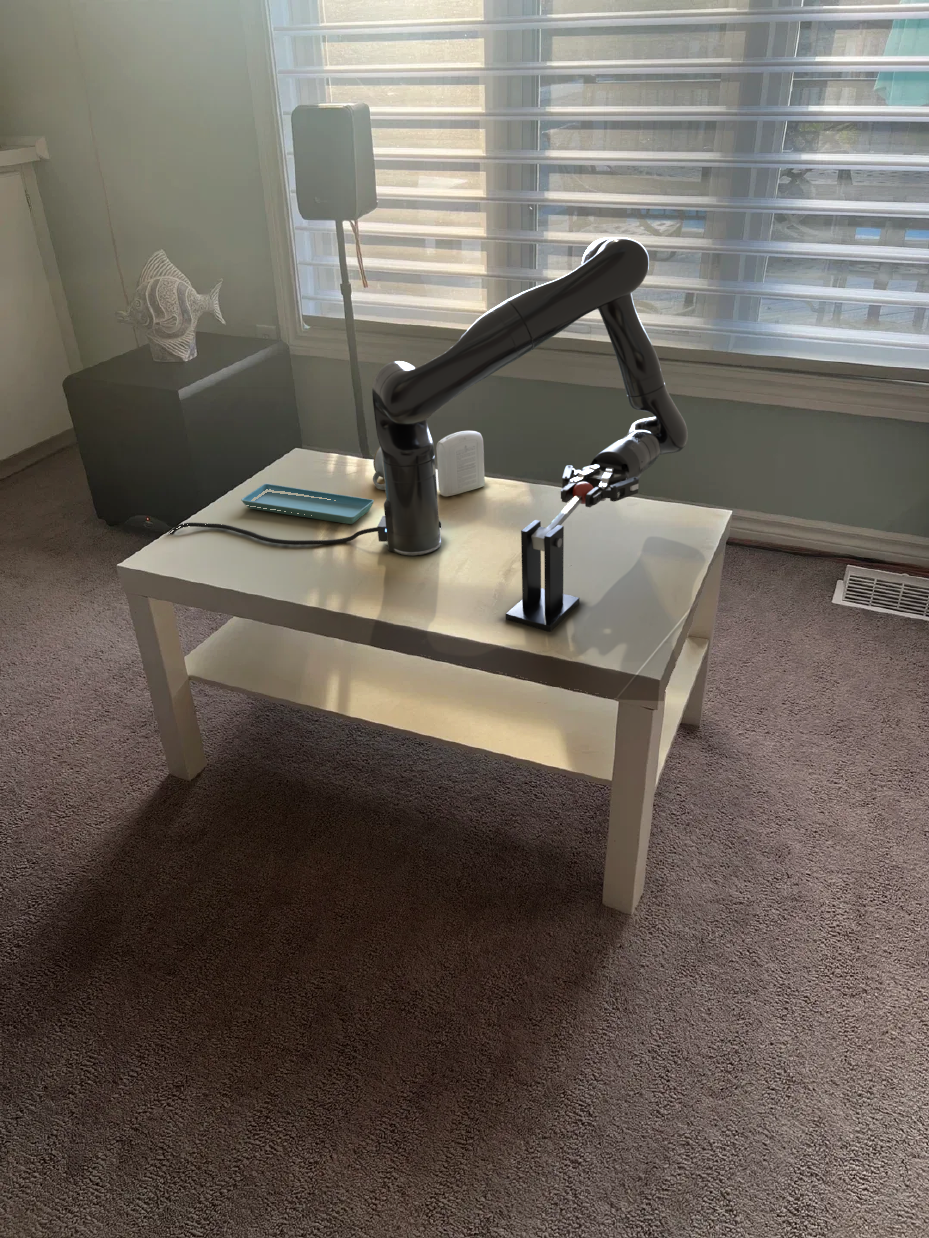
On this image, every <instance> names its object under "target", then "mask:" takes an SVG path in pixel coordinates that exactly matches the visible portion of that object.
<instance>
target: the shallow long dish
mask: <svg viewBox="0 0 929 1238" xmlns="http://www.w3.org/2000/svg"><path fill="white" fill-rule="evenodd" d="M266 489H268V490H269V489H271V490H274V491H285V492H291V493H298V494H304V495H309V496H314V497H322V498H327V499H331V500H327V499H319V498H311V497H304V496H296V495H288V494H280V493H272V492H267V493H265V494H264V495H262V496H261V497H259V498H258V499H256V500H255V501H251V500H252V499H253V498H254V497H257V496H258V495H259V494H261V493H262V492H263V491H265V490H266ZM334 500H336V501H334ZM240 501H241V502H242V503H243V504H244V505H245V506H246V505H249V506H246V507H247V508H248V509H251V510H252V509H253V510H256V511H257V510H258V511H264V512H270V513H276V514H282V515H287V516H293V517H294V516H295V517H302V518H307V519H308V518H309V519H313V520H314V519H315V520H319V521H320V520H321V521H327V522H335V523H339V524H346V525H353V524H354V523H356V522H357V521H358V520H359V519H361V518H362V517H363V516H364V515H365V514H367V513H368V512H369V511H370V510H371V508H372V506H373V504H374V502H375V499H371V498H364V497H358V496H353V495H352V496H351V495H346V494H345V495H344V494H337V493H332V492H331V493H330V492H324V491H317V490H310V489H304V488H297V487H293V486H292V487H291V486H285V485H280V484H274V483H273V484H271V483H263V484H262V485H260V486H259V487H257V488H256V489H255V490H253V491H252V492H250V493H249V494H247V495H246V496H244V497H242V498H241V500H240ZM250 506H256V507H250ZM257 507H261V508H257ZM263 508H267V509H263ZM270 509H276V510H270ZM277 510H281V511H277ZM284 511H286V512H284ZM291 512H292V513H291ZM297 513H299V514H297ZM304 514H305V515H304ZM311 515H312V516H311Z"/></svg>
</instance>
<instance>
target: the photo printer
mask: <svg viewBox="0 0 929 1238" xmlns="http://www.w3.org/2000/svg"><path fill="white" fill-rule="evenodd" d="M484 444H485V443H484V438H483V436H482V434H481V432H478V431H476V430H462V431H457V432H453V433H451V434H448V435H446V436H444V437H442V438H441V439H440V440H438V442H437V443H436V447H435V448H436V467H437V481H438V482H437V483H438V484H437V485H438V491H439V494H440V495H441V496H443V497H451V496H455V495H459V494H462V493H466V492H469V491H473V490H477V489H479V488H482V487H484V486H485V485H486V479H485V452H484V451H485V448H484Z"/></svg>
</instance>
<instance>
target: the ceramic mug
mask: <svg viewBox="0 0 929 1238" xmlns="http://www.w3.org/2000/svg"><path fill="white" fill-rule="evenodd" d="M372 461H373V462H372V463H373V470H374V474H373V476H372V482H373V484H374V487H375V488H376V489H378V490H381V491H386V490H385V483H382V484H380V483H378V480H379V478H382V479H384V470H383V460H382V452H381V447H380V446H379V447H378V448H377V449H376V451H375V453H374V455H373V460H372Z"/></svg>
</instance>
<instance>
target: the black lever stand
mask: <svg viewBox="0 0 929 1238" xmlns="http://www.w3.org/2000/svg"><path fill="white" fill-rule="evenodd" d="M541 525H542V523H541V520H538V519H534V520H533V521H532V522H531V523H529V524H528V525H526V526H525V527H524V528H523V529H521V530H520V543H521V545H520V547H521V549H520V550H521V587H522V588H521V595H522V596H521V597H522V598H521V600H520V601H518V602H517V603H516V604H515V605H514V606H512V607H511V609H509V610H508V611H507V612H506V613H505V620H506V621H509V622H513V623H517V624H520V625H522V626H523V625H524V626H528V627H530V628H534V629H538V630H542V631H544V632H548V633H551V632H552V631H553V630H554V629H555V628H556V627H557V626H558V625H559V624H560V623H561V622H562V621H563V620H564V619H565V618H566V617H567V616H568V615H569V614H571V613H572V611H574V609H575V608H576V607H578V605H580V597H578V596H574V595H570V594H565V593H564V552H565V551H564V546H565V545H564V544H565V542H564V538H565V537H564V536H565V535H564V533H565V532H564V531H565V529H564V528H565V527H564V525H557V526H556V527H555V528H554V529H552V530H551V531H550V532H549V533H547V534H546V535H545V536H544V551H543V552H544V553H543V554H544V555H543V556H544V561H543V563H544V588H543V587H542V551H541V550H536V549H533V546H532V537H531V536H532V535H533V534H534V533H535V531H536V530H537V529H538V528H539V527H542V526H541Z"/></svg>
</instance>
